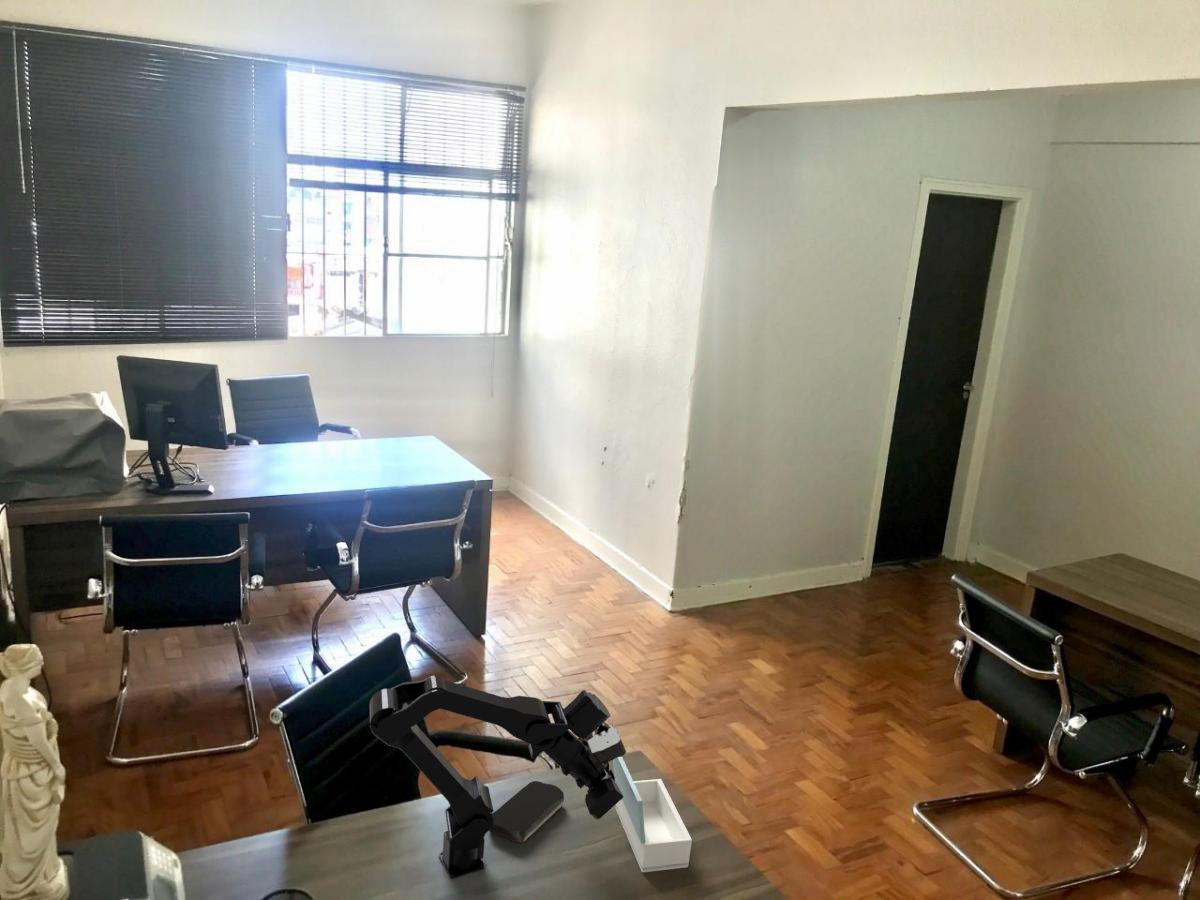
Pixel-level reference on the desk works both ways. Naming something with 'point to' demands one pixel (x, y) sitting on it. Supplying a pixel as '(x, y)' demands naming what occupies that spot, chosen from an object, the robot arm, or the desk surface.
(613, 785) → the robot arm
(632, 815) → the cover
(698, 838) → the desk surface
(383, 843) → the desk surface
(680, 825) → the white lidded box
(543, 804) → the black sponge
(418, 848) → the desk surface
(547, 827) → the desk surface
